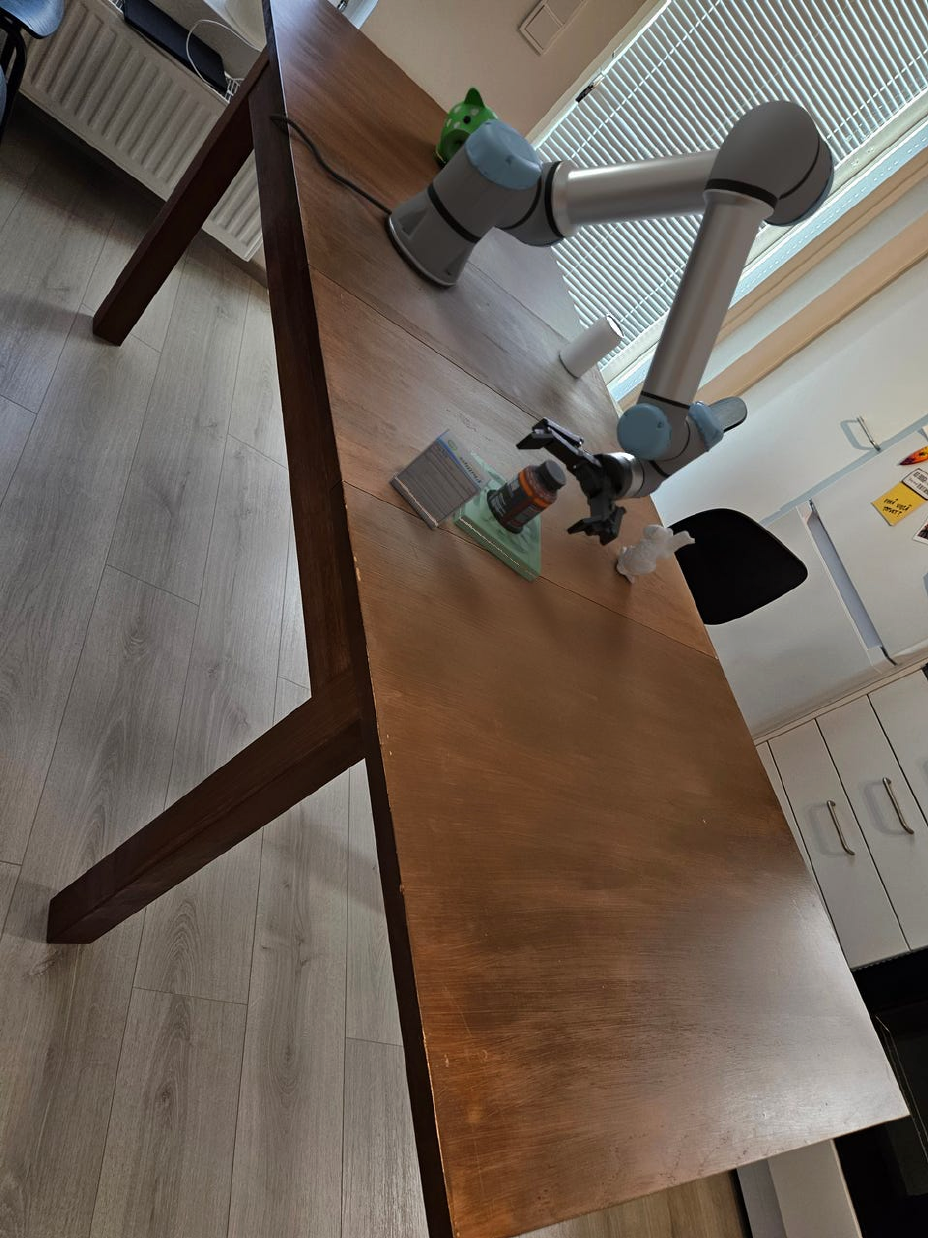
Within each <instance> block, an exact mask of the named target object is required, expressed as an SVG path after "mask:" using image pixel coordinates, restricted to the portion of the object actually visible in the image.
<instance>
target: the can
mask: <svg viewBox="0 0 928 1238" xmlns="http://www.w3.org/2000/svg"><path fill="white" fill-rule="evenodd" d="M625 336H626V335H625V332H624V330H623V328H622V326H621V325H620V324H619V322H618V321H617V320H616V319H615V318H614V317H613V316H612V315H611V314H608V313H607V314H606V315H605V316H602V317H599V318H597V319H596V320H595V321H594V322H593V323H592V324H590V326H588V327H587V328H586V329H585V330H584V331H583V332H581V333H580V334H579V335H578V336H577V337H576V338H574V339H573V340H572V341H571V342H570V343H569V344H568V345H567V346H566V347H564V348H563V349H562V350H561V351H560V354H559V358H560V361H561V363H562V365H563V367H564V368H565V369H566V371H568V373H569V374H570V375H571V376H573V377H574V378H581V377H582V376H583V375H585V374H586V373H587V372H588V371H590V370H591V369H592V368H593V367H594V366H596V365H597V364H598V363H600V362H601V361H602V360H603V359H604V358H605V357H606V356H607V355H609V354H610V353H612V351H614V350H615V349H616V348H617V347H618V346H620V344H621V343H622V341H623V339H624V338H626V337H625Z"/></svg>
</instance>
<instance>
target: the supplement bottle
mask: <svg viewBox="0 0 928 1238" xmlns="http://www.w3.org/2000/svg"><path fill="white" fill-rule="evenodd" d="M507 481H508V482H507V483H506V484H505V485H503V486H502V487H501V488H500V489H498V490H497V491H496V492H495V493H493V494H492V495H491V496H490V497H489V498H487V503H488V506H489V509H490V511H491V512H492V514H493V516H494V518H495V519H496V520H497V521H498V523H499V524H500V525H501V526H502V527H504V528H505V529H506V530H507V531H509V532H511V533H515V532H516V531H518V530H519V529H520V528H521V527H523V526H524V525H525V524H527V523H528V522H529V521H531V520H532V519H533V518H534V517H536V516H537V515H539V514H540V515H541V514H542V512H544V511H546V510H547V509H548V508H549V507H550V506H552V505H553V504H554V503H555V502H556V501H557V499H558V491H560V490H561V489H562V488H563V487H564V486H565V485H567V482H568V480H567V475H566V473H565V472H564V470H563V468H562V467H561V466H560V465H559V464H558V463H557V462H556V461H555V460H553V459H550V458H548V459H545V461H544V462H542V463H540V464H539V465H534V464H531V465H527V466H526V467H524V468H523V469H521V470H520V471H519V472H518V473H517V474H516V475H514V476H513V477H512V478H510V480H507Z"/></svg>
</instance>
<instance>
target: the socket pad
mask: <svg viewBox="0 0 928 1238" xmlns="http://www.w3.org/2000/svg"><path fill="white" fill-rule="evenodd" d="M469 451H470V453H471V454H472V455H473V456H474V457H475V459H476V460H477V461H478V462H479V463H480V465H481V466H482V467H483V468H484V469H485V471H486V472H487V473H488V474H489V475H490V477H491V481H490V482H489V483H488V484H487V485H486V487H485V488H484V489H483V490H482V491H481V492H480V493H479V494H478V495H476V496H475V497H474V498H473V499H471V500H470V501H469V502H468V503H466V504H465V505H464V506H463V507H461V515H460V509H459V510H458V511H456V512H455V513H454V519H453V522H454V525H456V526H457V527H458V528H459V529H461V530H462V531H464V533H466V534H467V535H468V536H470V537H471V538H473V539H474V540H475V541H476V542H477V543H479V544H480V545H482V546H483V547H484V548H485V549H487V550H488V551H489V552H491V553H492V554H493V555H494V556H496V557H497V558H498V559H499V560H501V561H502V562H503V563H505V564H506V565H507V566H509V567H510V568H511V569H513V571H515V572H516V573H517V574H519V575H520V576H522V577H523V578H524V579H526V580H527V581H528V582H530V583H531V582H532V581H534V580H535V579H536V578H534V577H533V576H532V575H530V574H529V573H528V572H526V571H525V570H524V569H523V568H525V569H526V570H527V571H529V572H530V573H531V574H533V575H534V576H535V577H537V578H539V577H540V576H541V575H542V555H541V554H542V545H541V544H542V543H541V542H542V541H541V539H542V538H541V537H542V535H541V534H542V533H541V532H542V531H541V529H542V527H541V525H542V524H541V513H540V514H539V515H537V516H536V517H534V518H533V519H532V520H531V521H529V522H528V523H527V524H525V525H524V526H523V527H521V528H520V529H519V530H518V531H516V532H515V533H511V532H509V531H507V530H506V529H505V528H504V527H502V526H501V525H500V524H499V523H498V521H497V520H496V519H495V518H494V516H493V514H492V512H491V511H490V509H489V506H488V503H487V498H489V497H490V496H491V495H492V494H493V493H495V492H496V491H497V490H498V489H500V488H501V487H502V486H503V485H505V484H506V483H507V482H508V481H509V480H506V479H505V478H504V477H503V476H502V475H501V474H500V473H498V472H497V471H496V470H495V469H493V467H491V466H490V465H489V464H488V463H487V462H485V461H484V460H483V459H482V458H480V457H479V456H478V455H477V454H476V453H475V452H474V451H472V450H469ZM459 516H461V519H463V520H464V521H465V522H467V523H468V524H470V525H471V526H472V528H474V529H475V530H476V531H478V532H479V533H480V534H481V535H482V536H484V537H485V538H486V539H487V540H488V541H490V542H491V543H492V544H493V545H495V546H496V547H497V548H499V549H500V550H502V552H503V553H505V554H506V555H507V556H508V557H507V556H506V555H505V554H503V553H502V552H501V551H500V550H498V549H497V548H496V547H495V546H493V545H492V544H491V543H489V542H488V541H487V540H486V539H484V538H483V537H482V536H480V535H479V534H478V533H477V532H475V531H474V530H473V529H471V528H470V527H469V526H468V525H466V524H465V523H464V522H463V521H461V520H460V519H459ZM510 558H511V559H512V560H513V561H512V560H511V559H510ZM514 561H515V562H516V563H518V564H519V565H520V566H522V567H523V568H521V567H520V566H519V565H518V564H516V563H515V562H514Z"/></svg>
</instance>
